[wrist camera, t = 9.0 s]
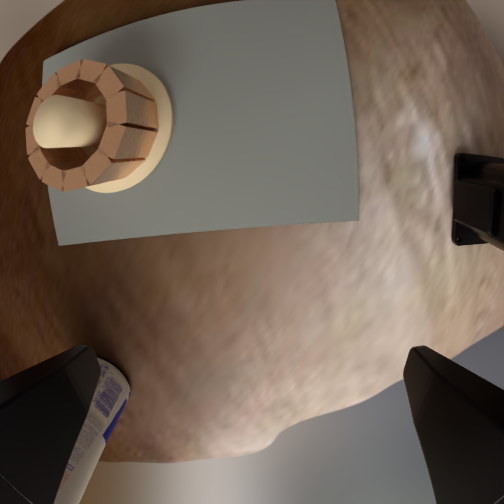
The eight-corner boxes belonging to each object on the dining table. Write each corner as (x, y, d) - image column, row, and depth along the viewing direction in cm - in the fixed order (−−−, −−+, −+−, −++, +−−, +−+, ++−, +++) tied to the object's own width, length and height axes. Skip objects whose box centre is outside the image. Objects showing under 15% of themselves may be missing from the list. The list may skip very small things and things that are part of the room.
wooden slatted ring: (154, 64, 13) (124, 43, 10) (162, 171, 15) (132, 177, 12) (66, 94, 14) (26, 86, 10) (73, 189, 16) (32, 200, 12)
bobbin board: (331, 7, 13) (360, -53, 6) (353, 216, 17) (402, 253, 11) (52, 63, 14) (-13, 46, 8) (67, 241, 19) (3, 277, 12)
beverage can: (70, 353, 22) (-14, 467, 8) (115, 352, 22) (29, 494, 8) (97, 397, 24) (35, 509, 10) (141, 399, 23) (85, 533, 9)
